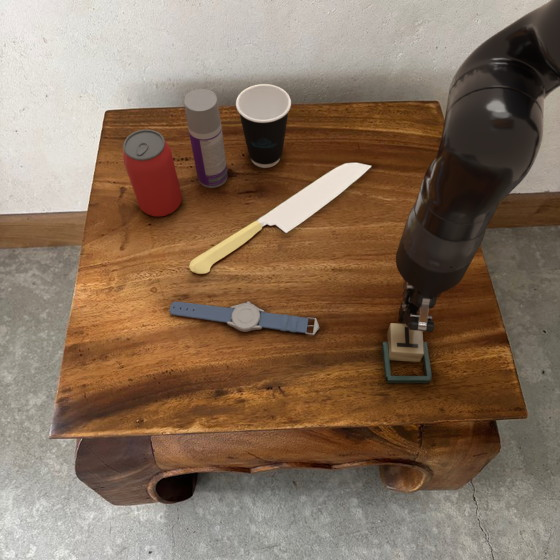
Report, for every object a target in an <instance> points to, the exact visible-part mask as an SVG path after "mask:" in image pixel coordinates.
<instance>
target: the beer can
mask: <svg viewBox="0 0 560 560" xmlns="http://www.w3.org/2000/svg"><path fill="white" fill-rule="evenodd" d="M122 149H123V150H122V159H123V165H124V168H125V170H126V173H127V176H128V178H129V181H130V184H131V188H132V190H133V193H134V196H135V198H136V202H137V204H138V206H139V208H140V210H141V211H142V212H144V213H145V214H146V215H149V216H151V217H164V216H169V215H170V214H173V212H175V211H176V210H177V209H178V208H179V207H180V205H181V203H182V199H183V196H182V195H183V194H182V189H181V186H180V182H179V178H178V174H177V170H176V169H177V168H176V165H175V161H174V157H173V153H172V149H171V147H170V145H169V144H168V142H167V141H166V140H165V137H164V136H163V135H162V134H161V133H160V132H159V131H157V130H153V129H146V128H145V129H140V130H136V131H134V132H131V134H129V135H127V137H126V138H125V140H124V141H123V144H122Z"/></svg>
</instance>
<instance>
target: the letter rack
mask: <svg viewBox="0 0 560 560" xmlns="http://www.w3.org/2000/svg"><path fill="white" fill-rule="evenodd" d="M423 345H424V355H423V357H422V358H421V359H422V364H423V373H424V375H392V371H391V362H390V361H391V360H389V352H388V341H382V344H381V353H382V363H383V371H384V372H383V373H384V380H386V383H387V384H430V383H431V382H432V378H433V374H432V368H431V361H430V353H429V346H428V341H423Z"/></svg>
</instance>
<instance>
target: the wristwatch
mask: <svg viewBox="0 0 560 560" xmlns="http://www.w3.org/2000/svg"><path fill="white" fill-rule="evenodd" d="M169 314H170V315H171V316H176V317H184V318H190V319H191V318H192V319H199V320H205V321H212V322H217V323H225V324H227V326H230V327H232V328H234V329H236V330H237V331H240V332H243V333H248V332H251V331H255V330H262V329H270V330H279V331H280V332H290V333H294V334H295V333H300V334H305V335H309V336H315V335H316V333H317V332H318V331H319V329H320V328H321V327H320V325H319V322H318V320H317V318H316V317H303V316H298V315H289V314H286V313H285V314H284V313H283V314H280V313H272V312H265V310H264V309H262V308H259V307H258V306H257V305H255V304H254V303H252V302H251V301H246V302H243V303H240V304H236V305H231V306H230V307H227V306H217V305H211V304H210V305H208V304H201V303H192V302H184V301H183V302H182V301H173V302H171V304H170V306H169ZM309 320H314V323H313V325H308V324H309ZM308 327H313V331H312V333H311V332H308Z"/></svg>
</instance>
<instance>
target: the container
mask: <svg viewBox="0 0 560 560" xmlns="http://www.w3.org/2000/svg"><path fill="white" fill-rule="evenodd" d="M218 101H219V100H218V96H217V94H216V93H215V92H214V91H212V90H210V89H207V88H196V89H193V90H191V91H188V93H186V94H185V96H184V98H183V104H184V111H185V118H186V124H187V129H188V130H187V131H188V135H189V140H190V145H191V150H192V155H193V160H194V166H195V171H196V177H197V181H198V182H199V184H200V185H201V186H203V187H204V188H209V189H216V188H219V187H221V186H223V185H224V184H225V183H226V182H227V180H228V176H229V175H228V167H227V158H226V150H225V144H224V134H223V127H222V120H221V113H220V108H219V103H218Z"/></svg>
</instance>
